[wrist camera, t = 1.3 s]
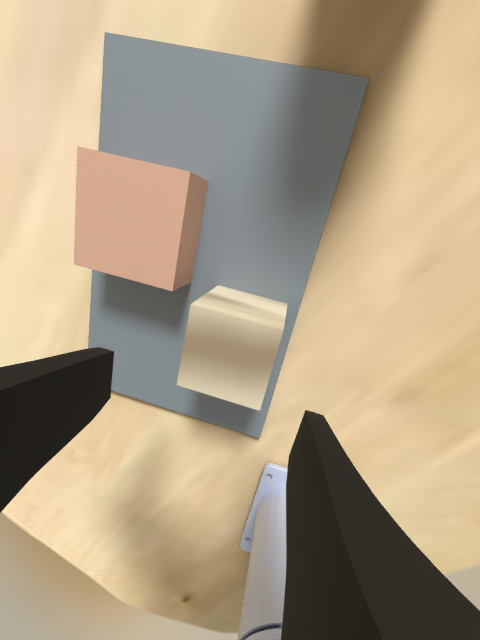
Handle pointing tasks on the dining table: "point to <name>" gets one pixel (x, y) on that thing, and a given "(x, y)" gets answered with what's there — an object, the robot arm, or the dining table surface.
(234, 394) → the maple block
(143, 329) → the blue-grey rectangular mat
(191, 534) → the dining table surface
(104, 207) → the base block
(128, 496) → the dining table surface
